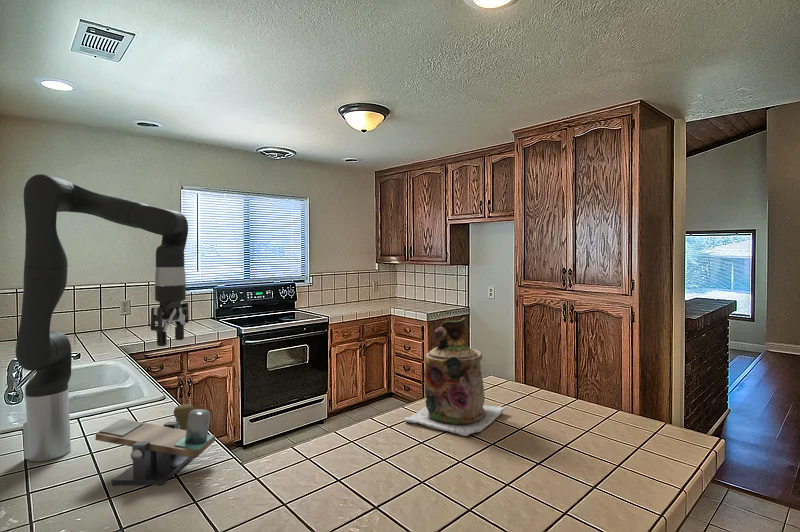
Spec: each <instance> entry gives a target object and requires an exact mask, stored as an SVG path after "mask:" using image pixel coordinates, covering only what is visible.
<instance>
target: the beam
mask: <svg viewBox="0 0 800 532" xmlns="http://www.w3.org/2000/svg"><path fill="white" fill-rule="evenodd" d="M185 437H186V430H181V429H176V428H170V427H165V426H163V425H158V424H153V423H147V422H143V421H142V422H141V421H136V420H131V419H125V418H122V419H121V418H120V419H118V420H116V421H114V422H113V423H111V424H110V425H108V426H105V427H104V428H103V429H100V430H99V431H98V432H97V433H95V439H94V440H95V441H100V442H105V443H109V444H115V445H120V446H126V447H130V448H132V445H133V444H135V443H136V442H150V450H153V451H158V452H163V453H169V454H174V455H180V456H185V457H191V458H192V459H197V458H198V457H199V456H200V455H201V454H202V453H204V452H205V451H206V450H207V449H208V448H209V447H210V446H211V445H212V444H213V443H215V442H216V435H214V434H209V433H208V435H207V441H206V442H205V443H203V444H199V445H191V444H188V443H186V442H185Z"/></svg>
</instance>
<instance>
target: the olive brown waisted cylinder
mask: <svg viewBox="0 0 800 532" xmlns="http://www.w3.org/2000/svg"><path fill="white" fill-rule="evenodd" d="M192 410H195V407H194V406H193V405H192V404H191V403H190V404H189V403H184V404H182V403H181V404H179V405H177V406H176V407H174V410H173V415H174V417H175V422H179V425H180V429H181V430H187V423H188V416H189V412H190V411H192Z"/></svg>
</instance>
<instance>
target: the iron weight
mask: <svg viewBox="0 0 800 532" xmlns="http://www.w3.org/2000/svg"><path fill="white" fill-rule="evenodd" d="M211 413H212V412H211V411H209V410H207V409H201V408H198V409H194V410H192V411H190V412H189V416H188V423H187V430H186V437H185V442H186V443H188V444H191V445H199V444H203V443H205V442H206V441H207V435H208V434H209V427H210V419H211Z"/></svg>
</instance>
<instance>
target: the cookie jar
mask: <svg viewBox="0 0 800 532" xmlns="http://www.w3.org/2000/svg"><path fill="white" fill-rule="evenodd" d="M466 319H467V318H466V317H463V318H461V319H460V320H446V321H444V322H442V323H441V324H440V326H439V327H438V328H436V329H435V330H434V332H433V338H434V340H435V341H437V342H439V343H438V344H437V347H434V348H433V349H431V350H430V351H429V352H427V353H425V368H424V371H423V372H424V377H425V378H424V379H425V381H424V383H425V389H424V390H425V391H424V392H425V396H426V399H425V406H424V407H422V408H421V409H420V410H419V411H416V413H415V414H412V415H410V416H407V417H404V418H403V420H404V422H409V423H413V424H420V425H422V426H423V425H424V426H426V427H428V428H432V429H436V430H440V431H444V432H449V433H453V434H456V435H461V436H463V437H467V436H470V435H472V434H474V433H480V432H482V431H483V430H484V429H486V428H487V427H488V426H489V425H490V424H491V423H493V422H494V421H495V420H496V419H497V418H498V417H499V416H501V415H503V413H504V411H505V409H506V407H505V406H496V405H486V404H485V397H486V396H485V390H484V389H485V388H484V380H483V376H482V375H483V374H482V369H481V367H482V366H481V361H482V360H483V353H482V351H481V350H477V349H475V348H471V347H469V346H468V345H467V344H466V339H467V335H468V331H467V330H466V327H467V326H466V325H465V323H466V321H467V320H466ZM484 404H485V405H484Z"/></svg>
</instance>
